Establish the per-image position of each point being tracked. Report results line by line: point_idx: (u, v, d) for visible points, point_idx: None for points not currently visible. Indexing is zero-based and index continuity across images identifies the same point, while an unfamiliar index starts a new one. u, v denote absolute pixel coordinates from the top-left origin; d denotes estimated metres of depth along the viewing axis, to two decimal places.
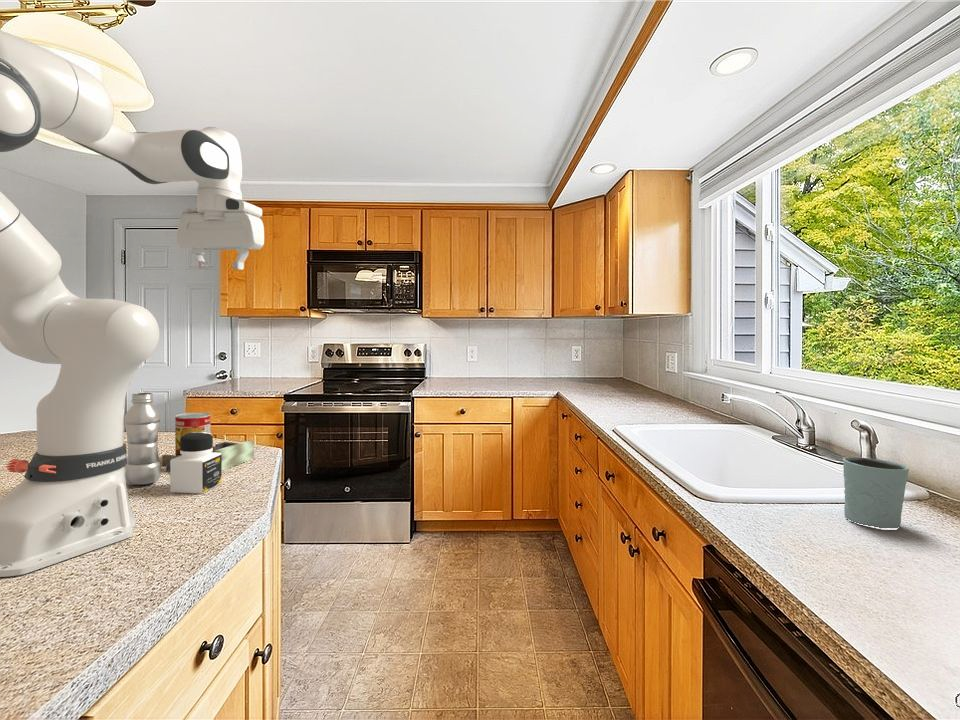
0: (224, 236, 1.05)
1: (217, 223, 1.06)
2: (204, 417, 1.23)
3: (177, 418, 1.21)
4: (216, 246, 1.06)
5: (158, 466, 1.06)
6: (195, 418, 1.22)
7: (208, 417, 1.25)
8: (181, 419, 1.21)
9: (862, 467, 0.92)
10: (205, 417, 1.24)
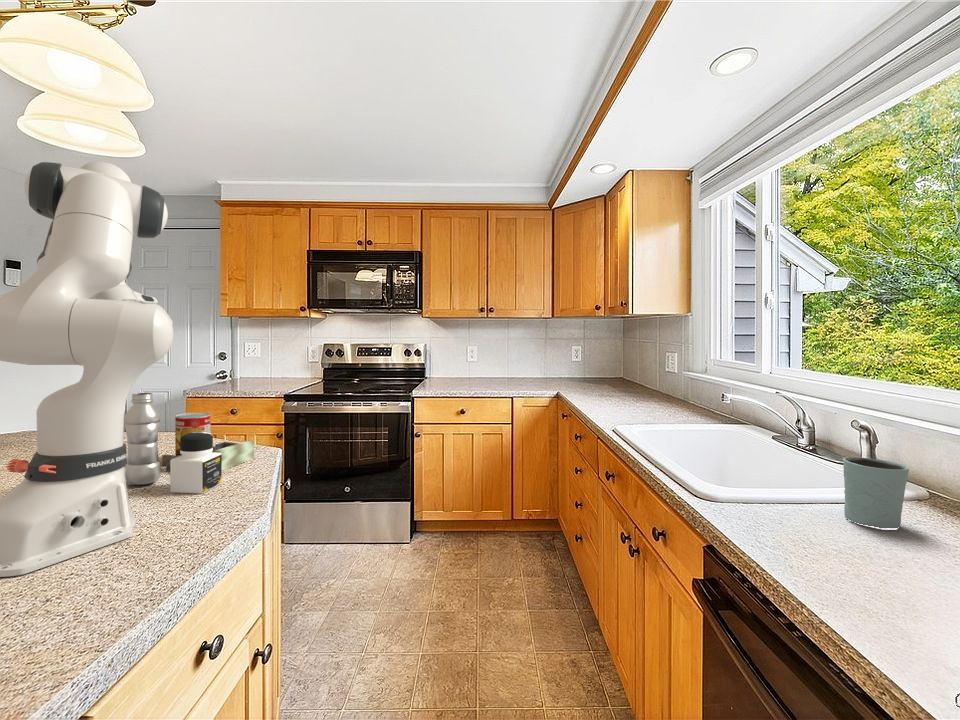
0: None
1: None
2: (204, 417, 1.23)
3: (177, 418, 1.21)
4: None
5: (158, 466, 1.06)
6: (195, 418, 1.22)
7: (208, 417, 1.25)
8: (181, 419, 1.21)
9: (862, 467, 0.92)
10: (205, 417, 1.24)
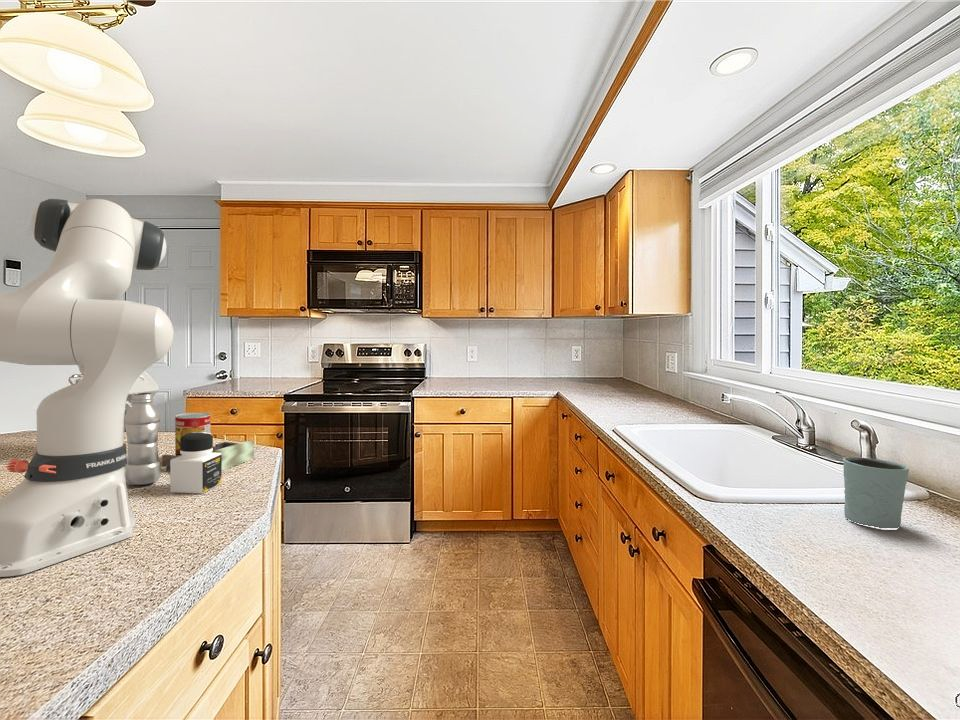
0: (133, 385, 1.31)
1: None
2: (204, 417, 1.23)
3: (177, 418, 1.21)
4: (129, 393, 1.29)
5: (158, 466, 1.06)
6: (195, 418, 1.22)
7: (208, 417, 1.25)
8: (181, 419, 1.21)
9: (862, 467, 0.92)
10: (205, 417, 1.24)
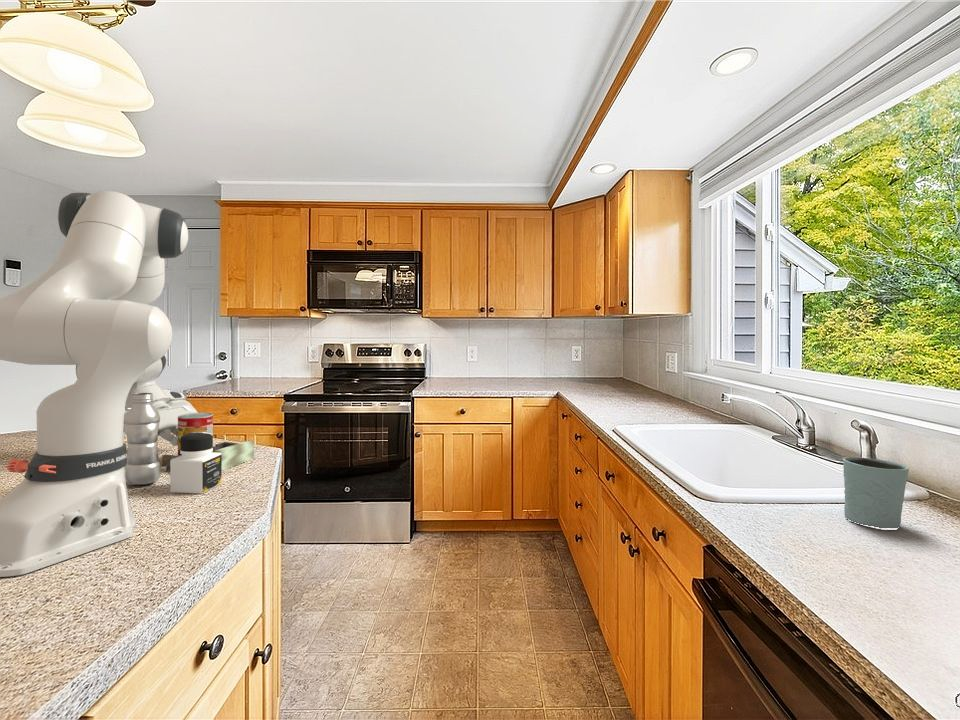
0: (177, 417, 1.29)
1: (163, 411, 1.27)
2: (206, 417, 1.23)
3: (179, 418, 1.21)
4: (174, 425, 1.26)
5: (158, 466, 1.06)
6: (197, 418, 1.21)
7: (210, 417, 1.25)
8: (183, 419, 1.21)
9: (862, 467, 0.92)
10: (207, 417, 1.24)
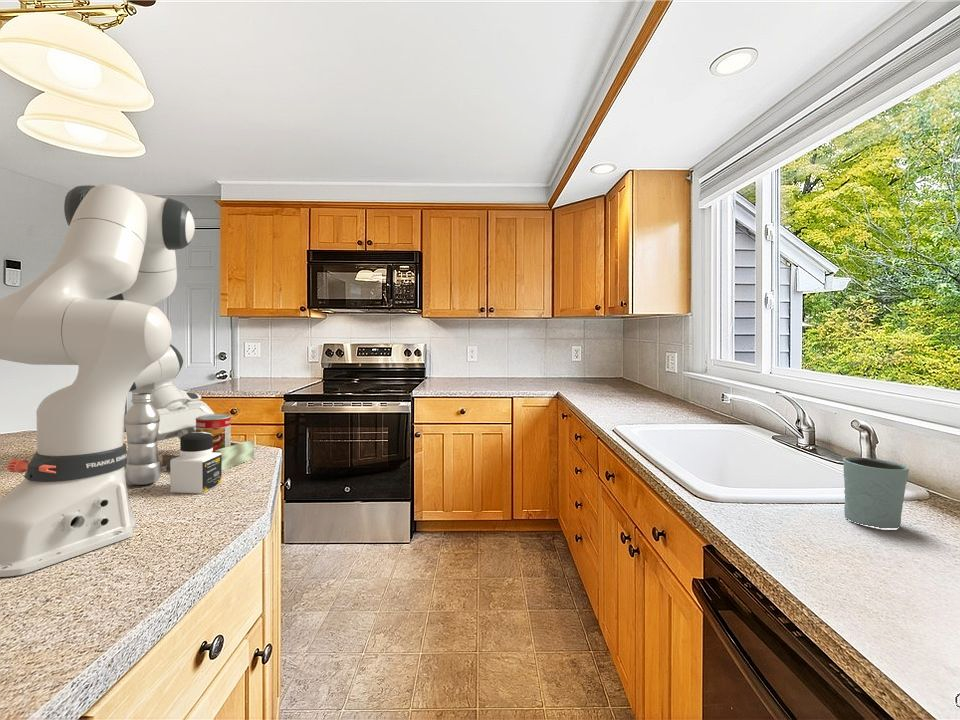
0: (194, 418, 1.28)
1: (180, 412, 1.26)
2: (225, 418, 1.22)
3: (198, 419, 1.20)
4: (191, 426, 1.25)
5: (158, 466, 1.06)
6: (216, 419, 1.20)
7: (228, 418, 1.24)
8: (202, 420, 1.20)
9: (862, 467, 0.92)
10: (226, 418, 1.22)
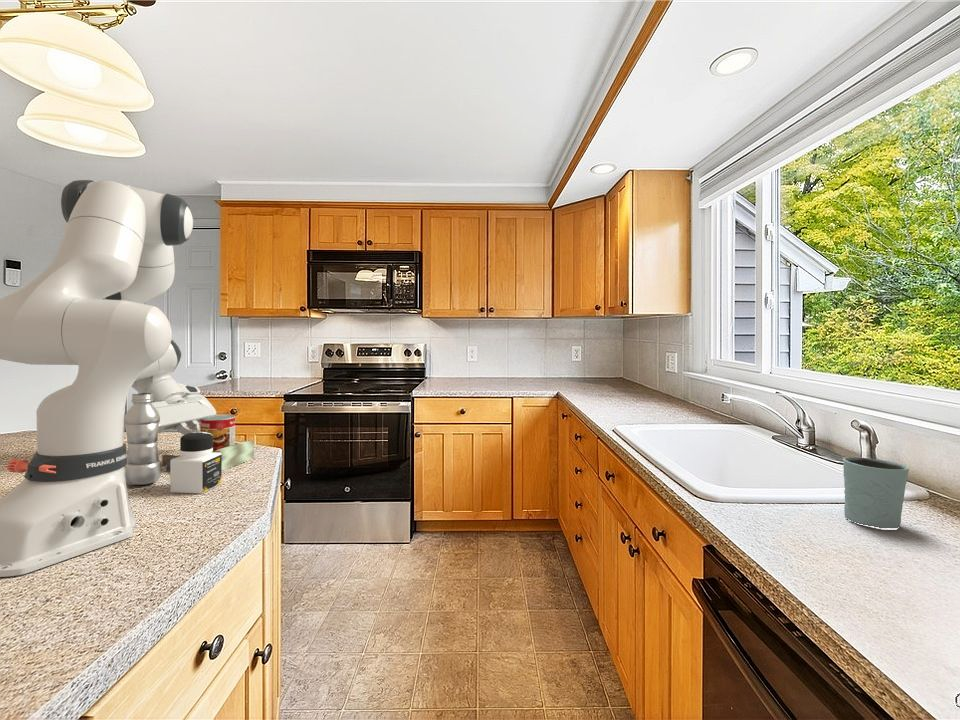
0: (193, 411, 1.28)
1: (179, 405, 1.26)
2: (229, 419, 1.22)
3: (202, 420, 1.20)
4: (190, 419, 1.25)
5: (158, 466, 1.06)
6: (220, 420, 1.20)
7: (233, 419, 1.23)
8: (206, 421, 1.19)
9: (862, 467, 0.92)
10: (230, 419, 1.22)
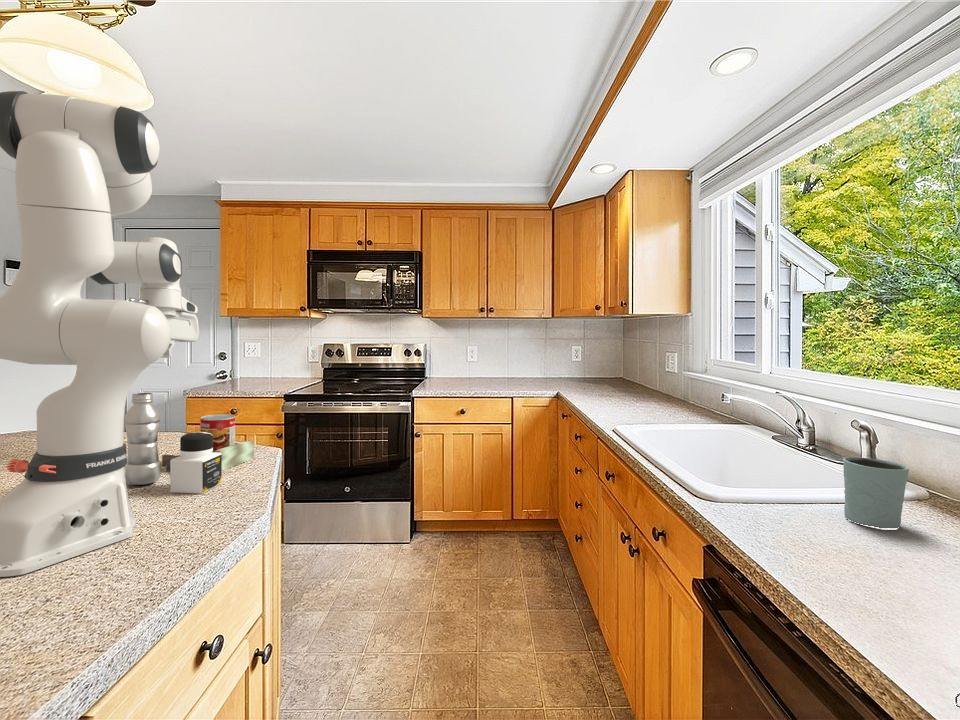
0: (177, 330, 1.24)
1: (169, 318, 1.22)
2: (229, 419, 1.22)
3: (202, 420, 1.20)
4: None
5: (158, 466, 1.06)
6: (220, 420, 1.20)
7: (233, 419, 1.23)
8: (206, 421, 1.19)
9: (862, 467, 0.92)
10: (230, 419, 1.22)
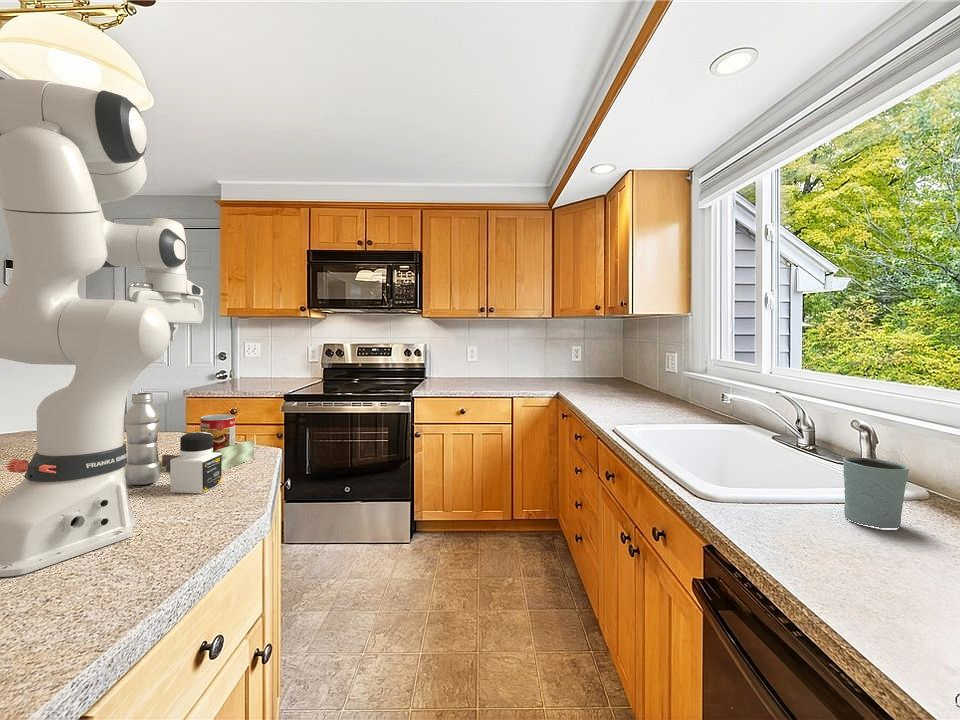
0: (181, 313, 1.23)
1: (173, 301, 1.20)
2: (229, 419, 1.22)
3: (202, 420, 1.20)
4: (173, 322, 1.20)
5: (158, 466, 1.06)
6: (220, 420, 1.20)
7: (233, 419, 1.23)
8: (206, 421, 1.19)
9: (862, 467, 0.92)
10: (230, 419, 1.22)
